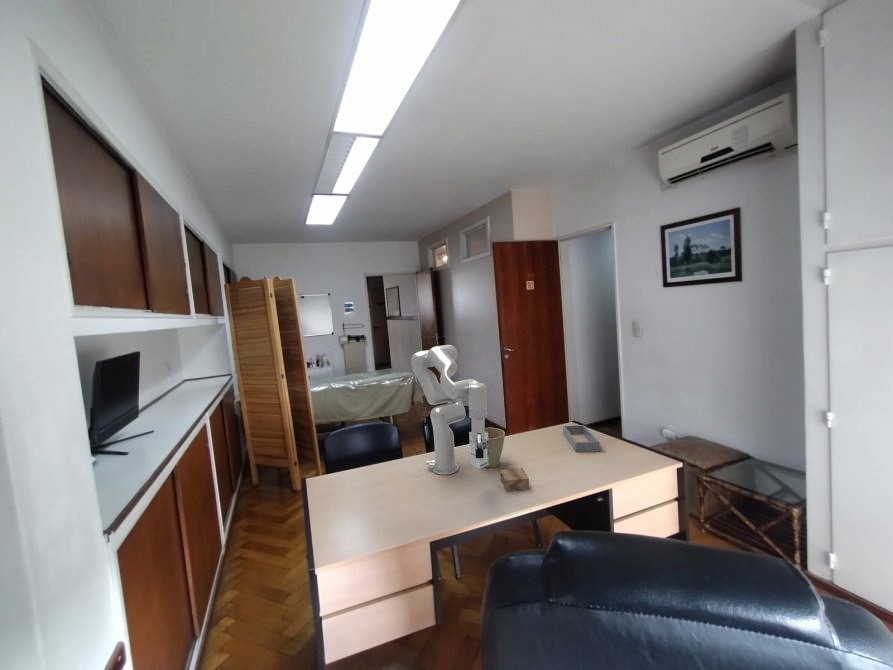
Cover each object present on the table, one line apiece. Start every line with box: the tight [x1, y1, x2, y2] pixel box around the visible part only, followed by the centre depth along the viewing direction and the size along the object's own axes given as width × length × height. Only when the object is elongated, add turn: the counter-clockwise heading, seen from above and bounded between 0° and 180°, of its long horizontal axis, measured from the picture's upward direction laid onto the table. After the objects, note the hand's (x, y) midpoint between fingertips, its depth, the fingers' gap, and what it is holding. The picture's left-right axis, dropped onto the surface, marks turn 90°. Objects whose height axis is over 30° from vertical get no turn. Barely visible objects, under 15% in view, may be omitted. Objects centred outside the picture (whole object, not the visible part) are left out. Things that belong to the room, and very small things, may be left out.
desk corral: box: [562, 424, 601, 453], centre depth 206 cm, size 12×26×5 cm, turn 176°
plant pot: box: [485, 427, 506, 468], centre depth 185 cm, size 15×15×16 cm
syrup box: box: [468, 431, 489, 469], centre depth 158 cm, size 6×6×14 cm
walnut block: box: [499, 467, 530, 492], centre depth 165 cm, size 10×10×5 cm
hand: (479, 453), depth 159 cm, fingers closed on syrup box, 7 cm apart
